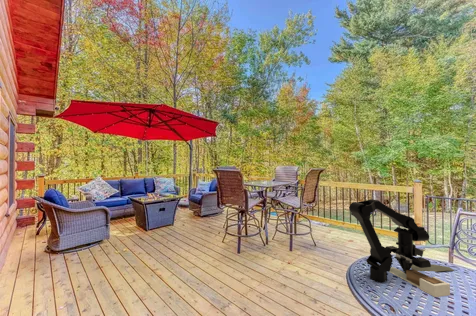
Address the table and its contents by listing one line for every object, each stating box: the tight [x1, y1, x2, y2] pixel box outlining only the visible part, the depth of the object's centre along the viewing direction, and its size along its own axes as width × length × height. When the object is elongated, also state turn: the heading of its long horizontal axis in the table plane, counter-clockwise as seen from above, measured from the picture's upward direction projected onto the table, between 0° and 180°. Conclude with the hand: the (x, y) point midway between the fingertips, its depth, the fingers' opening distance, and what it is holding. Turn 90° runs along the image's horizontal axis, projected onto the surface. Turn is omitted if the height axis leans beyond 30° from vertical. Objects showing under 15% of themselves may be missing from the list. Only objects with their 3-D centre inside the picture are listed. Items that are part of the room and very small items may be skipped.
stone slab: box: [410, 263, 455, 273], centre depth 114 cm, size 22×3×10 cm
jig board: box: [388, 266, 448, 297], centre depth 100 cm, size 7×26×1 cm, turn 11°
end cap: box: [419, 276, 451, 298], centre depth 91 cm, size 8×6×4 cm
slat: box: [406, 268, 442, 286], centre depth 95 cm, size 4×12×4 cm, turn 12°
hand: (406, 273), depth 103 cm, fingers closed
